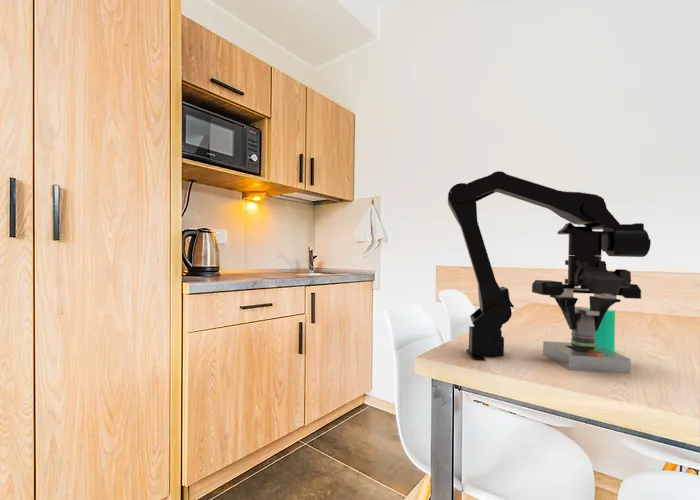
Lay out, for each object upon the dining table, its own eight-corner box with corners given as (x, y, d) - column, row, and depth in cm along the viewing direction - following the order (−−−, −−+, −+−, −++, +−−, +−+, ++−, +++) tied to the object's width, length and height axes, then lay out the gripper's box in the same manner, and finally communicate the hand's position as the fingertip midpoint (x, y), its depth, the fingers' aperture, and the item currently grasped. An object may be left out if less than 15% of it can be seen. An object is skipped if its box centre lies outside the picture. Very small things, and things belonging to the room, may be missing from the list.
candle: (620, 357, 78) (620, 305, 78) (590, 355, 79) (591, 303, 79) (606, 350, 84) (606, 301, 84) (579, 348, 85) (579, 300, 85)
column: (580, 349, 68) (581, 310, 68) (564, 341, 74) (564, 306, 74) (603, 351, 67) (604, 311, 67) (585, 342, 74) (585, 307, 74)
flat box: (561, 377, 64) (562, 354, 64) (526, 352, 80) (527, 335, 80) (654, 382, 62) (654, 359, 62) (600, 357, 78) (600, 338, 78)
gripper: (556, 254, 64) (554, 337, 64) (664, 257, 62) (663, 342, 62) (531, 254, 75) (530, 325, 75) (622, 257, 73) (621, 329, 73)
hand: (583, 330), depth 71 cm, fingers closed on column, 4 cm apart
